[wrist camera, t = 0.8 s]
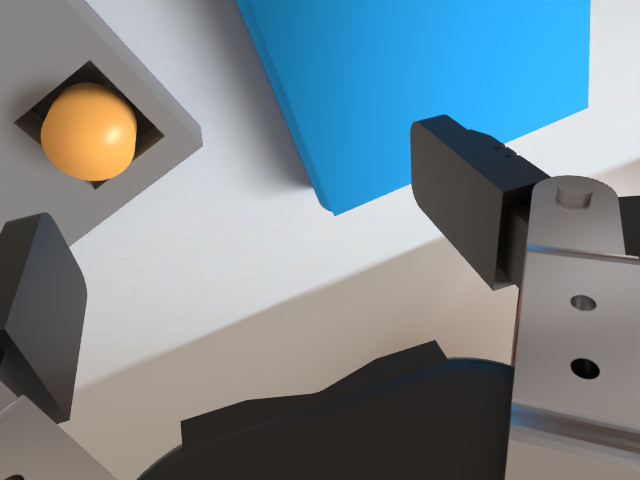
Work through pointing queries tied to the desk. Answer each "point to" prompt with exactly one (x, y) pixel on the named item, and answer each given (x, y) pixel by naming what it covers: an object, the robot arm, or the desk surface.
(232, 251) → the desk surface
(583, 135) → the desk surface
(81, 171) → the button orange
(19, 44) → the panel
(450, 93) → the book
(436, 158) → the robot arm
